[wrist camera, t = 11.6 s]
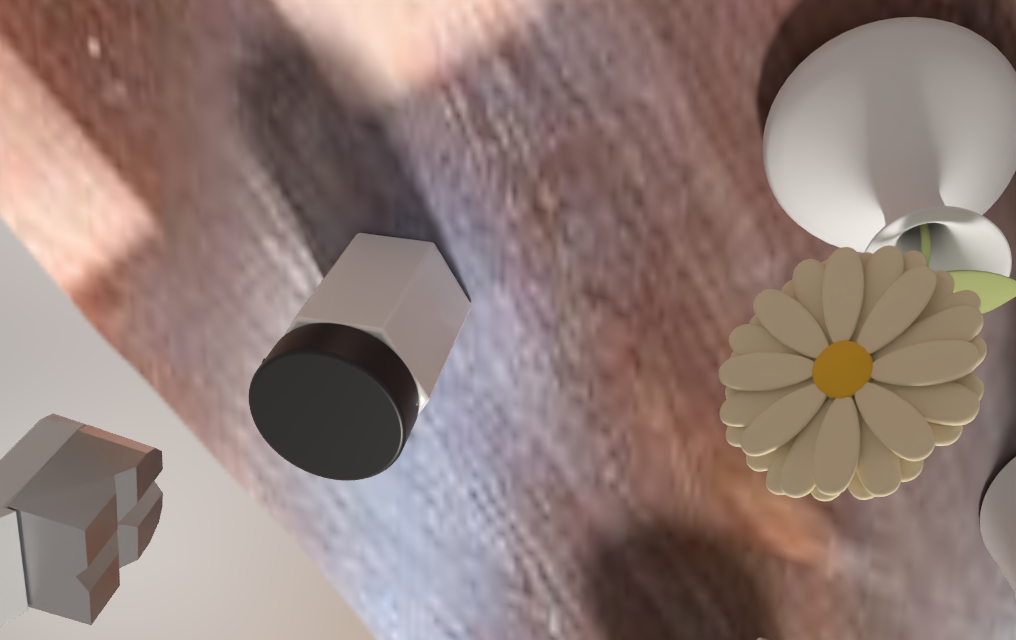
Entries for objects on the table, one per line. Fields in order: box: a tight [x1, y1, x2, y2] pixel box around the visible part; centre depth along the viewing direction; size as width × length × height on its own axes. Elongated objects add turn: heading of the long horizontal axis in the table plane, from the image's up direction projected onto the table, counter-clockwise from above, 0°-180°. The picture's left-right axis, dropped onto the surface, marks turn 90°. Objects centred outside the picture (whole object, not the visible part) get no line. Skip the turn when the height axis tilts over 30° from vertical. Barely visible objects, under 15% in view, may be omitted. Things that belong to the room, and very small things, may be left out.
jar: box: [249, 233, 471, 480], centre depth 51 cm, size 9×8×12 cm
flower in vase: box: [719, 17, 1016, 501], centre depth 35 cm, size 13×11×25 cm
